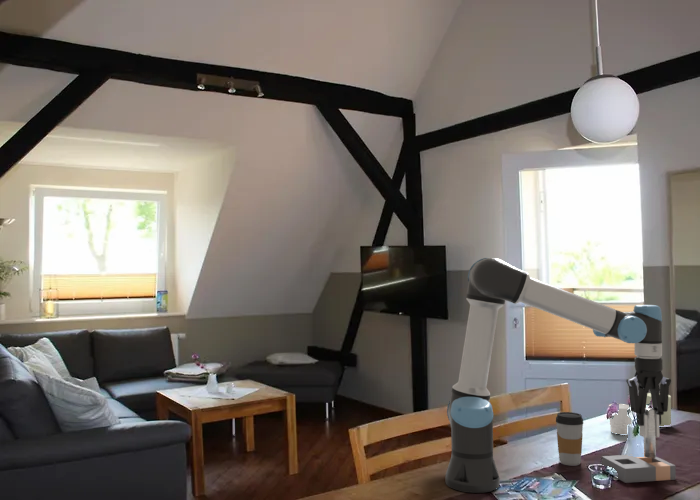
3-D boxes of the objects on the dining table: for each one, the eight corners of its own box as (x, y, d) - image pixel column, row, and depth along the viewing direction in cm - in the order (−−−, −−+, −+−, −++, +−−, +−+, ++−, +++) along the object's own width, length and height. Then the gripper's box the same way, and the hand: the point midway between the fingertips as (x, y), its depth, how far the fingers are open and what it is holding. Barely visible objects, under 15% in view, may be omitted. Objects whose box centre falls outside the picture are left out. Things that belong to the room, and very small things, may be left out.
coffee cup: (586, 467, 197) (585, 418, 198) (557, 466, 199) (557, 417, 199) (581, 459, 205) (581, 412, 206) (554, 458, 207) (554, 411, 207)
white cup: (636, 436, 233) (635, 408, 233) (614, 436, 233) (613, 408, 233) (627, 430, 241) (626, 403, 241) (605, 430, 241) (605, 403, 241)
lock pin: (648, 458, 190) (647, 410, 190) (641, 455, 193) (641, 408, 193) (658, 457, 190) (657, 410, 191) (651, 454, 193) (650, 407, 194)
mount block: (625, 482, 184) (625, 468, 184) (601, 469, 195) (601, 456, 195) (675, 479, 186) (675, 465, 186) (649, 466, 198) (649, 453, 198)
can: (649, 427, 245) (648, 396, 245) (642, 421, 254) (641, 391, 254) (675, 428, 243) (674, 396, 243) (667, 422, 252) (666, 391, 252)
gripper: (631, 359, 187) (632, 440, 187) (681, 357, 190) (682, 438, 189) (616, 355, 195) (617, 434, 194) (664, 354, 197) (665, 431, 197)
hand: (649, 435), depth 192 cm, fingers closed on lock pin, 3 cm apart
